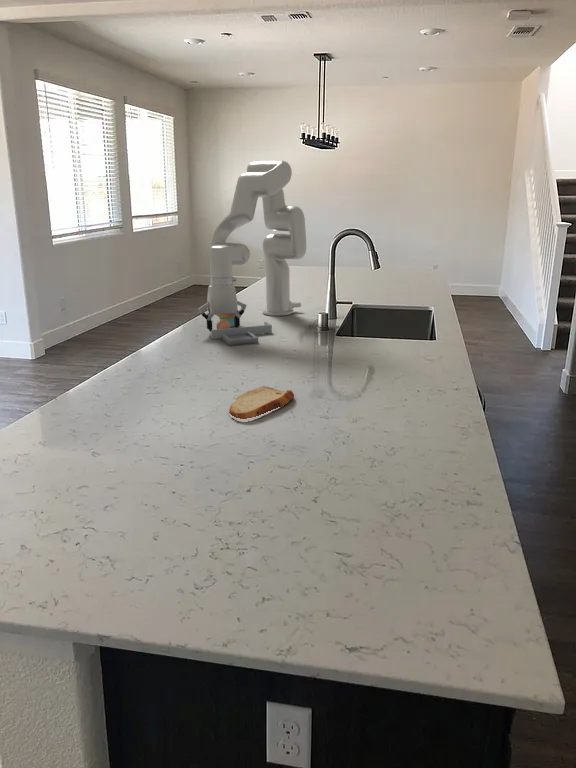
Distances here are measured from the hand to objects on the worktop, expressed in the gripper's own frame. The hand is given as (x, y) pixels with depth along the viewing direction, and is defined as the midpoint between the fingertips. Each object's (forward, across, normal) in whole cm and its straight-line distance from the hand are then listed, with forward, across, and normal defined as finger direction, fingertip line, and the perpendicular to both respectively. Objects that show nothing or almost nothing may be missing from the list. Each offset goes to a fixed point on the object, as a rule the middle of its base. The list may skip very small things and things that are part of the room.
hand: (223, 329), depth 229 cm
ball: (+1, 0, 0) cm, 1 cm away
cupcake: (+2, -5, -12) cm, 13 cm away
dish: (+1, -2, +13) cm, 13 cm away
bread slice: (+2, +12, +77) cm, 78 cm away
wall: (+1, -5, +3) cm, 6 cm away
